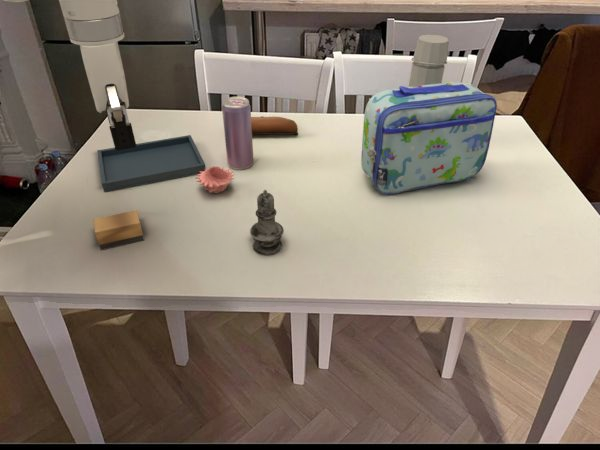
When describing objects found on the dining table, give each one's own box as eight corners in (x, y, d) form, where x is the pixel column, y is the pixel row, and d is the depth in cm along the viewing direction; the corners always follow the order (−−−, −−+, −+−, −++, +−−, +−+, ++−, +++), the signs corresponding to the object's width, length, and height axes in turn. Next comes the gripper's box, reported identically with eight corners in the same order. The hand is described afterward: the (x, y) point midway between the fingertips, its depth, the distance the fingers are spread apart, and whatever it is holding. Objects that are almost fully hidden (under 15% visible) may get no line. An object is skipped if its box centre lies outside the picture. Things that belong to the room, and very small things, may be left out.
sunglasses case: (295, 121, 124) (296, 106, 118) (297, 144, 121) (298, 129, 115) (228, 122, 123) (225, 107, 116) (228, 145, 120) (225, 131, 114)
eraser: (100, 250, 82) (94, 232, 79) (99, 236, 85) (93, 218, 83) (144, 240, 84) (139, 222, 82) (141, 227, 87) (136, 209, 85)
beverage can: (250, 171, 104) (246, 108, 95) (224, 169, 104) (217, 106, 95) (256, 158, 108) (252, 97, 99) (231, 156, 109) (226, 95, 100)
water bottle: (429, 151, 112) (450, 45, 97) (396, 146, 114) (412, 41, 99) (432, 135, 119) (453, 33, 104) (401, 131, 121) (417, 30, 106)
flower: (243, 189, 98) (241, 166, 94) (215, 206, 93) (212, 182, 90) (217, 177, 102) (215, 154, 98) (189, 192, 97) (185, 169, 93)
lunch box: (370, 201, 95) (382, 103, 82) (353, 174, 103) (361, 82, 90) (484, 185, 100) (511, 91, 87) (458, 161, 108) (481, 72, 96)
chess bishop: (290, 242, 84) (289, 186, 77) (272, 260, 80) (270, 203, 73) (263, 232, 86) (260, 176, 79) (244, 249, 82) (239, 193, 75)
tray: (104, 192, 97) (101, 183, 95) (99, 158, 108) (97, 150, 107) (206, 172, 103) (205, 164, 102) (191, 142, 115) (190, 134, 113)
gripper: (66, 16, 72) (95, 119, 83) (69, 47, 60) (103, 163, 70) (116, 12, 75) (138, 112, 85) (129, 41, 62) (153, 154, 72)
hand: (122, 135), depth 78 cm, fingers open, 9 cm apart
